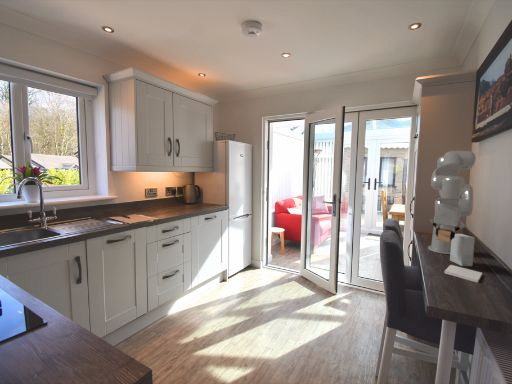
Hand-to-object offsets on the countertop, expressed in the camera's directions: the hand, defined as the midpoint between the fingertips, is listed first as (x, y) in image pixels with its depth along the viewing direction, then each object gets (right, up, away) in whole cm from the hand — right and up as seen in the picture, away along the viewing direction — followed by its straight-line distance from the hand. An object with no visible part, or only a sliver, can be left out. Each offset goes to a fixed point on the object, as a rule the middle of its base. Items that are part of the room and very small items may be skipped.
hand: (444, 237), depth 132 cm
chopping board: (+1, -15, -11) cm, 19 cm away
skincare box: (+10, -14, +4) cm, 18 cm away
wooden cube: (0, -1, 0) cm, 1 cm away
